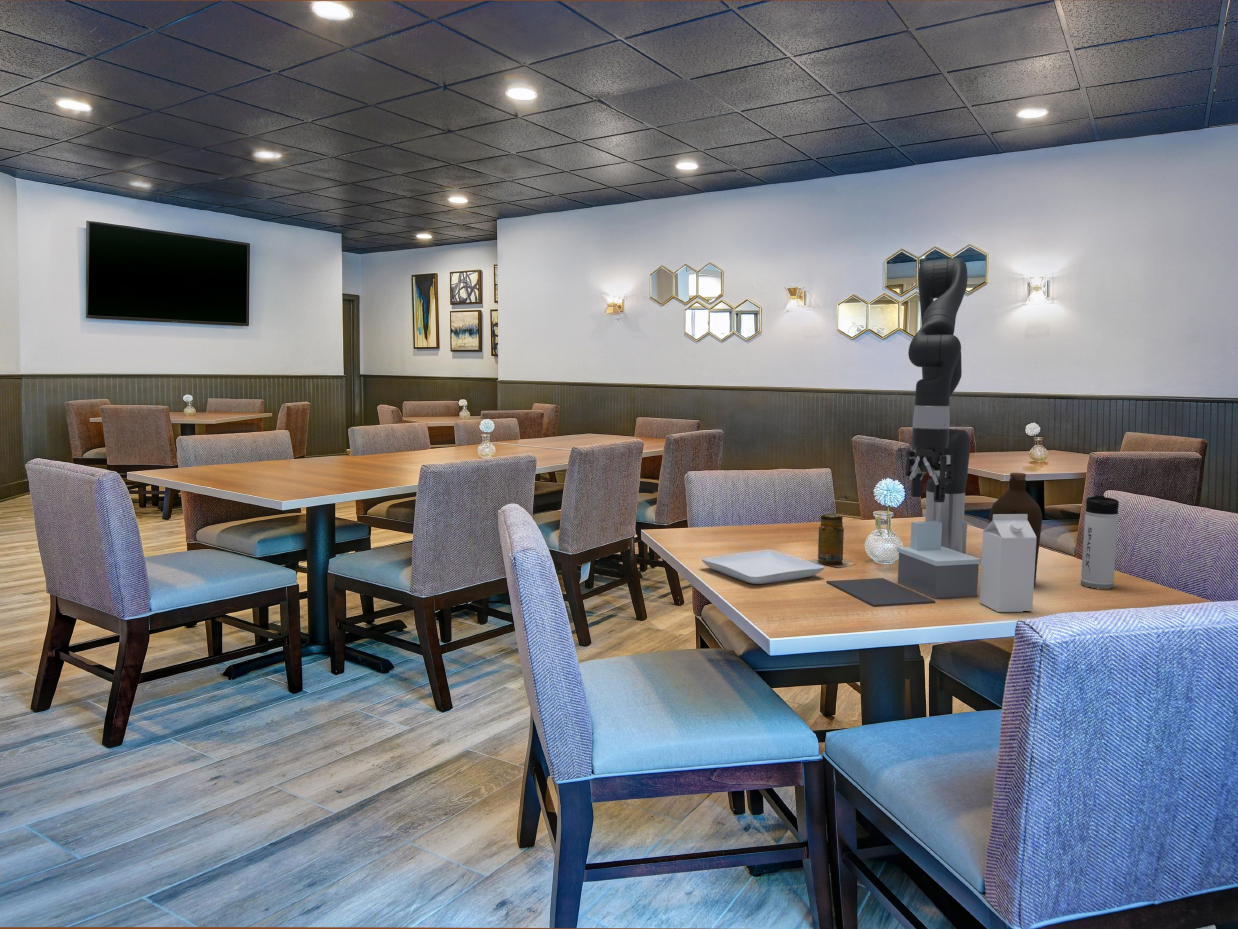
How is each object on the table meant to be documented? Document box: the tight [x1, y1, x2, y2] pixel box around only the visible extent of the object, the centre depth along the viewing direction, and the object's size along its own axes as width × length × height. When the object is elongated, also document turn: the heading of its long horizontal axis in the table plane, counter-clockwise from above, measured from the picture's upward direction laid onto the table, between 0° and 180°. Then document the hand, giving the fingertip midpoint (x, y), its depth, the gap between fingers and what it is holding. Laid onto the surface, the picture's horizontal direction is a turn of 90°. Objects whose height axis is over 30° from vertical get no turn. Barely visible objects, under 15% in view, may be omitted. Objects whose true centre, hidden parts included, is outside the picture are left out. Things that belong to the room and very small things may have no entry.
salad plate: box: [700, 549, 826, 585], centre depth 191 cm, size 21×21×3 cm
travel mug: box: [1080, 495, 1120, 590], centre depth 180 cm, size 6×7×20 cm
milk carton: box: [978, 514, 1036, 613], centre depth 162 cm, size 7×7×19 cm
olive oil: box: [988, 472, 1043, 587], centre depth 182 cm, size 11×11×25 cm
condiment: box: [810, 513, 855, 568], centre depth 202 cm, size 7×8×12 cm
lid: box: [896, 521, 982, 566], centre depth 177 cm, size 15×11×8 cm
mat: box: [826, 577, 936, 608], centre depth 174 cm, size 14×20×1 cm
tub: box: [897, 552, 980, 600], centre depth 177 cm, size 14×10×7 cm
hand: (927, 499), depth 180 cm, fingers open, 8 cm apart
